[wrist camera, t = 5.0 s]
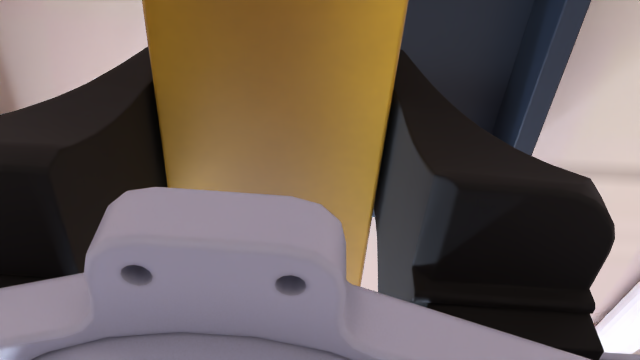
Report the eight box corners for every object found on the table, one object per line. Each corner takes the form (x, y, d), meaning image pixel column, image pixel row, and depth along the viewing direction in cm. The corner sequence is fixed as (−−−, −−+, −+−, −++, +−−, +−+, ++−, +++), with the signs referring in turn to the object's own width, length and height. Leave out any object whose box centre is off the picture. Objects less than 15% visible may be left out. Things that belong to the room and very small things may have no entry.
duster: (210, 202, 18) (178, 329, 15) (179, -215, 11) (102, -169, 8) (356, 212, 19) (359, 341, 15) (414, -197, 11) (448, -141, 8)
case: (277, 160, 26) (270, 210, 24) (293, -329, 16) (284, -332, 13) (489, 175, 27) (504, 227, 24) (647, -295, 16) (705, -292, 13)
